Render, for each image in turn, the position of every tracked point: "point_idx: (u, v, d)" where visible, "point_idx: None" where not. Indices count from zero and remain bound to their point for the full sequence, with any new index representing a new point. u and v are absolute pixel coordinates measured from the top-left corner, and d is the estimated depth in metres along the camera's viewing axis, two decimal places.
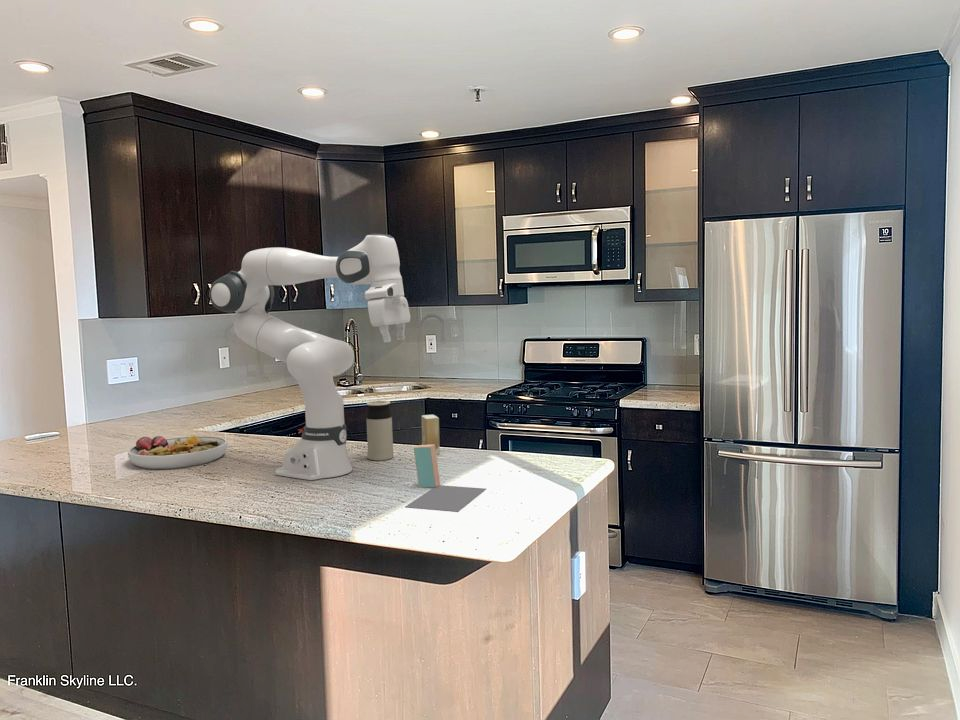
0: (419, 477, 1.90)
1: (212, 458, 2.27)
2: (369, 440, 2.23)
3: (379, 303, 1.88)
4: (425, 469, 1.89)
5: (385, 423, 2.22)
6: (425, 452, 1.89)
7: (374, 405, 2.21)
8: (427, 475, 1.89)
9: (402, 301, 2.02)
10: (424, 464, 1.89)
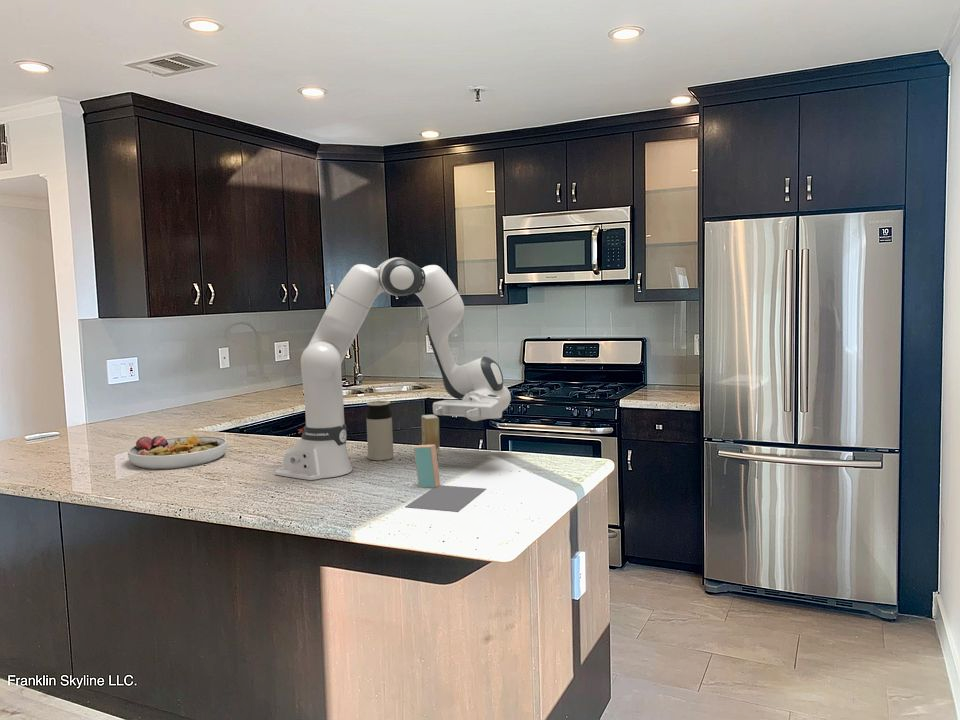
0: (419, 477, 1.90)
1: (212, 458, 2.27)
2: (369, 440, 2.23)
3: (499, 413, 2.04)
4: (426, 469, 1.89)
5: (385, 423, 2.22)
6: (425, 452, 1.89)
7: (374, 405, 2.21)
8: (427, 475, 1.89)
9: None
10: (424, 464, 1.89)
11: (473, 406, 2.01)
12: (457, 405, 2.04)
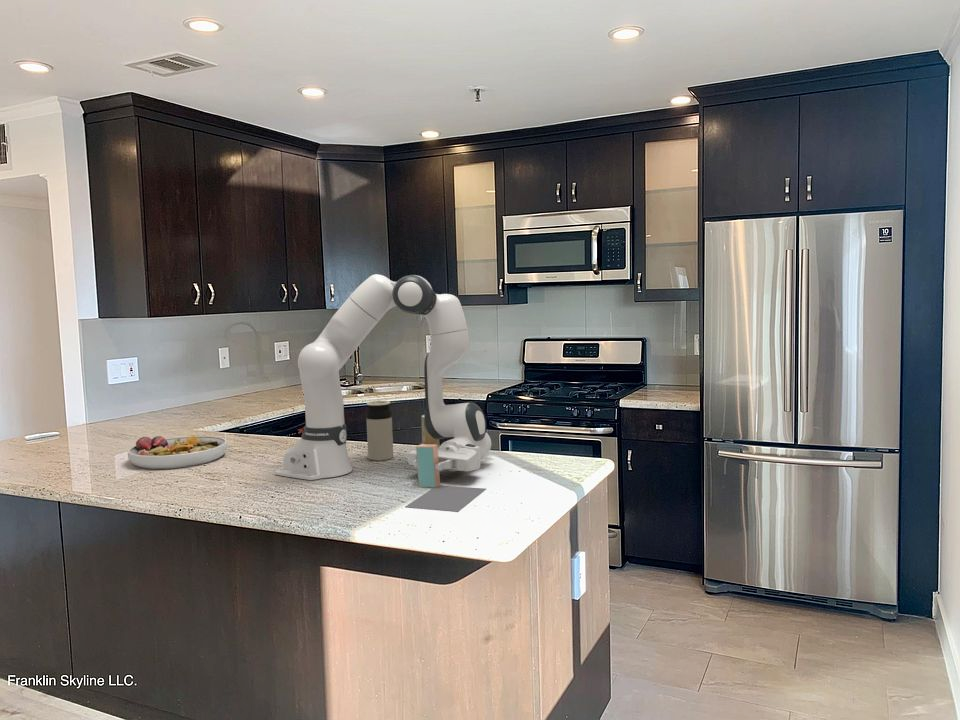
0: (420, 476, 1.90)
1: (212, 458, 2.27)
2: (369, 440, 2.23)
3: (476, 465, 1.94)
4: (426, 469, 1.89)
5: (385, 423, 2.22)
6: (427, 452, 1.88)
7: (374, 405, 2.21)
8: (428, 475, 1.89)
9: None
10: (425, 463, 1.89)
11: (449, 458, 1.91)
12: None
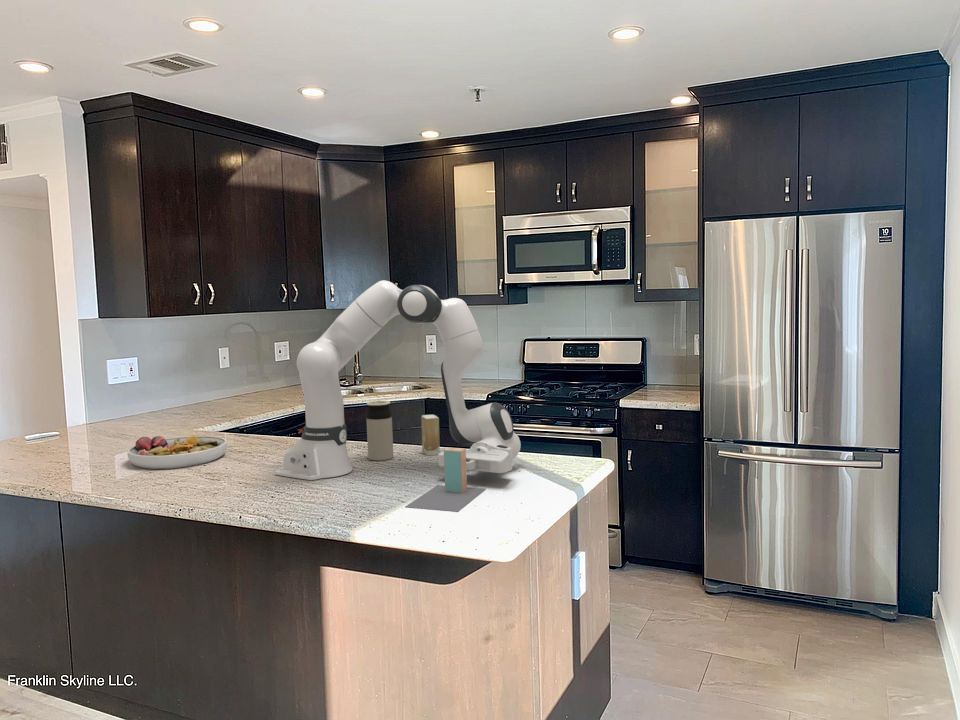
0: (446, 481, 1.84)
1: (212, 458, 2.27)
2: (369, 440, 2.23)
3: (509, 466, 1.90)
4: (453, 473, 1.83)
5: (385, 423, 2.22)
6: (455, 456, 1.82)
7: (374, 405, 2.21)
8: (454, 480, 1.83)
9: None
10: (452, 468, 1.83)
11: (482, 459, 1.88)
12: None
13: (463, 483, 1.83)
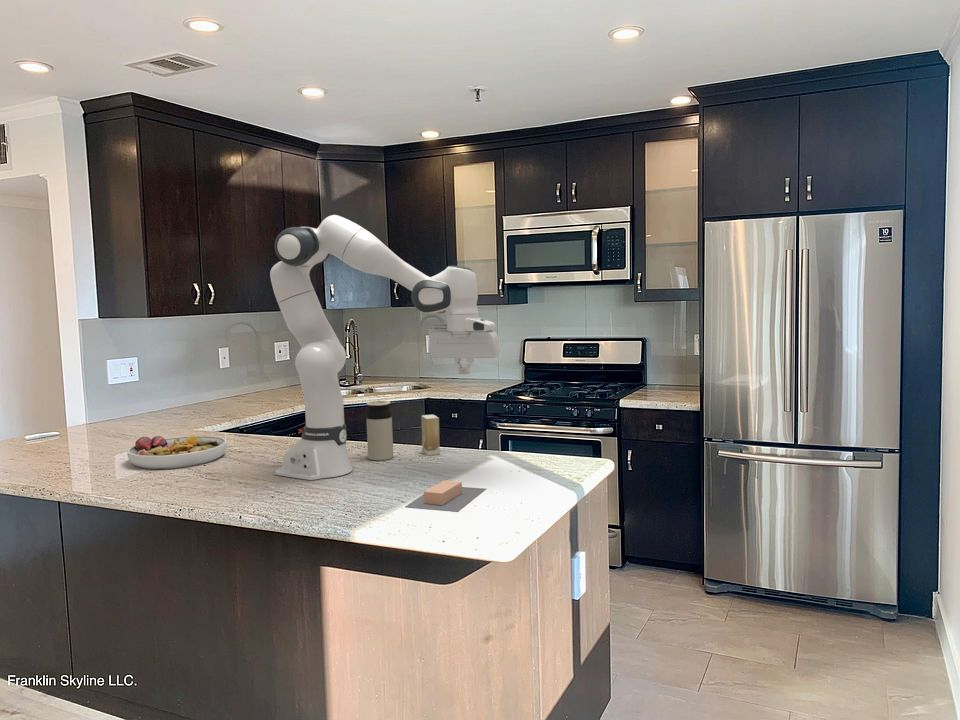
0: None
1: (212, 458, 2.27)
2: (369, 440, 2.23)
3: (496, 335, 1.95)
4: None
5: (385, 423, 2.22)
6: None
7: (374, 405, 2.21)
8: None
9: None
10: None
11: (476, 357, 1.95)
12: (458, 357, 1.97)
13: (457, 492, 1.80)
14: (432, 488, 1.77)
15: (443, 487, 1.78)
